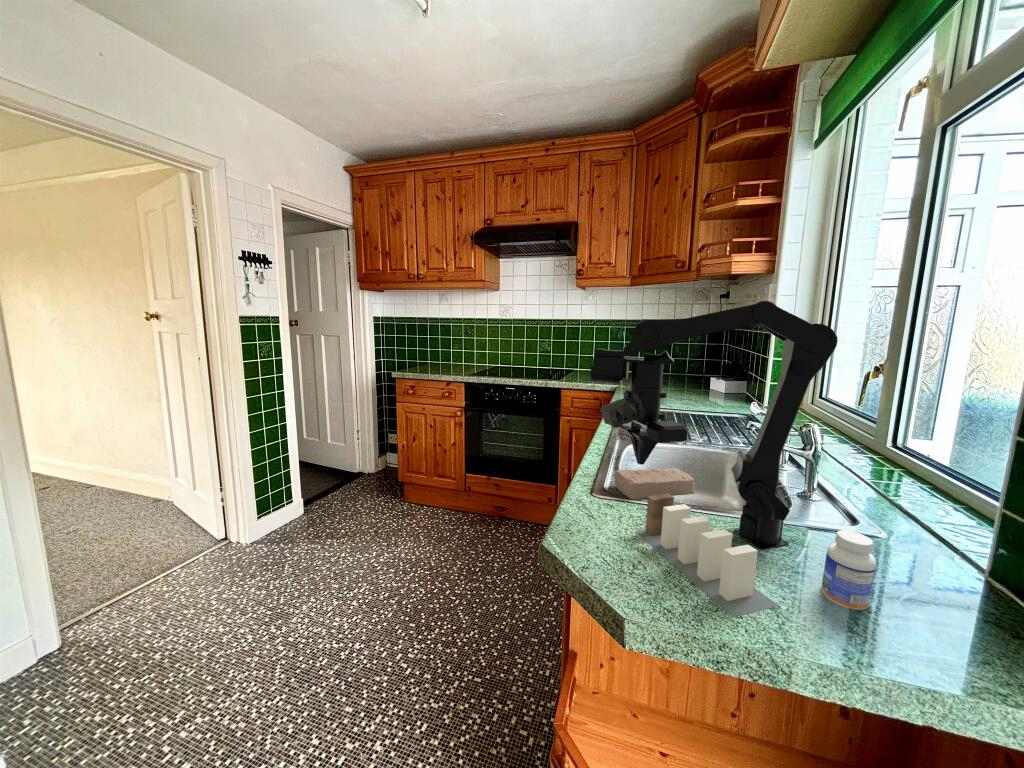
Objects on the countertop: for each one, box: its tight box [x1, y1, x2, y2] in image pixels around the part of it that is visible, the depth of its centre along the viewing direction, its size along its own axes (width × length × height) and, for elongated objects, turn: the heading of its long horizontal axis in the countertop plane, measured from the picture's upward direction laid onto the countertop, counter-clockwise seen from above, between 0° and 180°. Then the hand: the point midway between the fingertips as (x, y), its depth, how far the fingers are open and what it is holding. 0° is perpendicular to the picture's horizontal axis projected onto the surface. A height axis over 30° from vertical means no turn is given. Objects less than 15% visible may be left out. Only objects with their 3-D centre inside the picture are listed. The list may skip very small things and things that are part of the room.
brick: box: [614, 467, 696, 501], centre depth 95 cm, size 17×8×5 cm, turn 103°
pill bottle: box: [820, 529, 877, 611], centre depth 58 cm, size 5×5×10 cm
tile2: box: [661, 503, 692, 549], centre depth 71 cm, size 4×2×7 cm, turn 106°
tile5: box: [719, 544, 758, 601], centre depth 58 cm, size 4×2×7 cm, turn 106°
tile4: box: [697, 529, 733, 581], centre depth 62 cm, size 4×2×7 cm, turn 106°
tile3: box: [678, 515, 711, 564], centre depth 67 cm, size 4×2×7 cm, turn 106°
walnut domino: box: [645, 494, 675, 536], centre depth 75 cm, size 4×2×7 cm, turn 107°
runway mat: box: [634, 528, 780, 618], centre depth 66 cm, size 8×23×1 cm, turn 16°
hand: (640, 463), depth 81 cm, fingers closed
